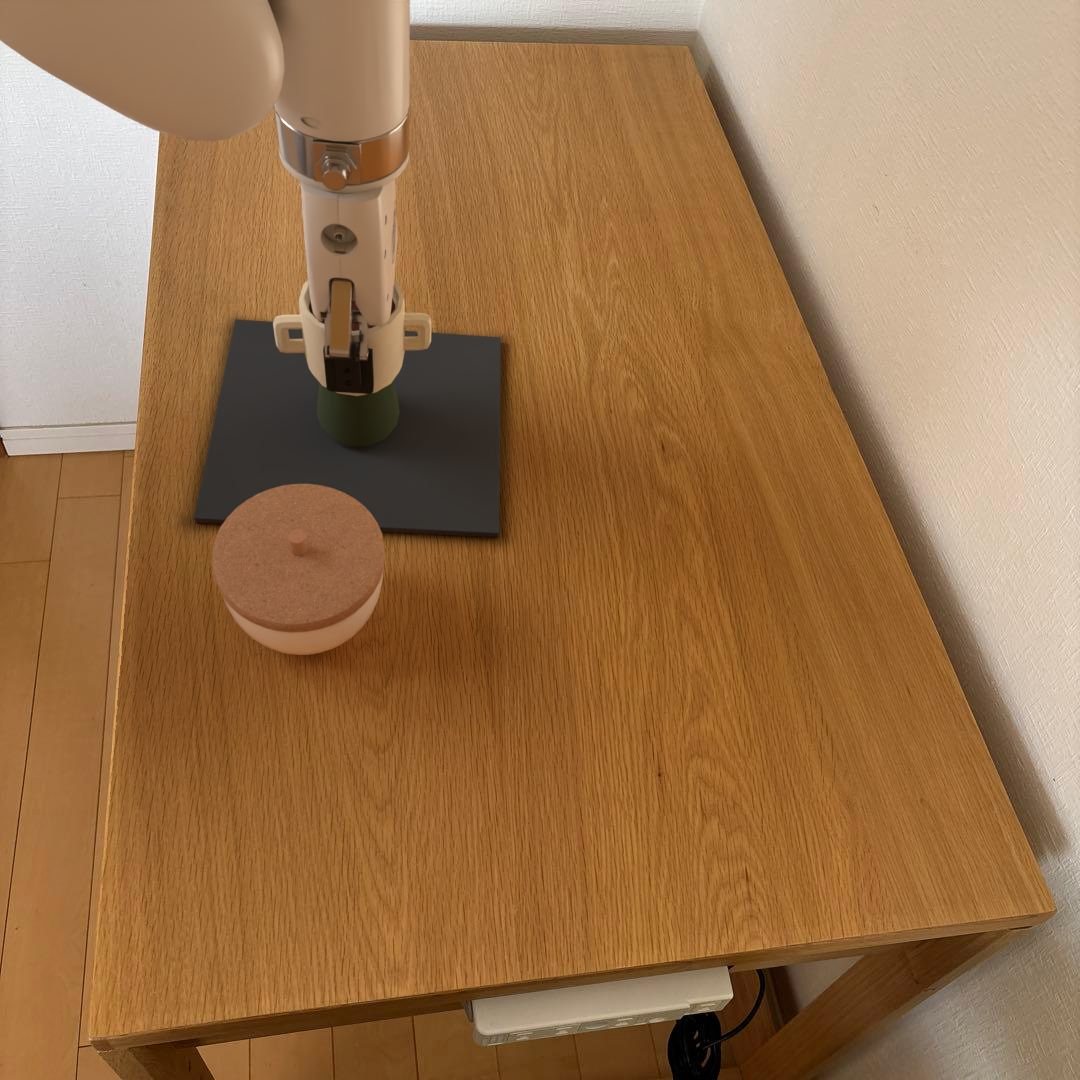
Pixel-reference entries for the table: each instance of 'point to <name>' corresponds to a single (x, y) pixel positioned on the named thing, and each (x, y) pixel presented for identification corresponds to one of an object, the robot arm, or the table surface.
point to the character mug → (377, 412)
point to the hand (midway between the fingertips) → (355, 345)
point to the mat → (367, 471)
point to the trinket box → (300, 567)
